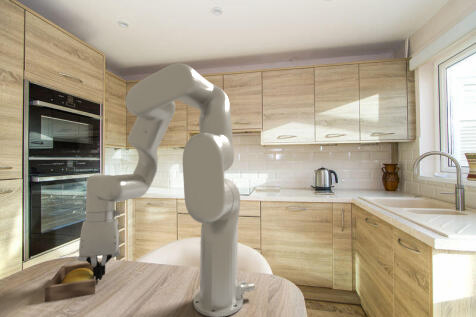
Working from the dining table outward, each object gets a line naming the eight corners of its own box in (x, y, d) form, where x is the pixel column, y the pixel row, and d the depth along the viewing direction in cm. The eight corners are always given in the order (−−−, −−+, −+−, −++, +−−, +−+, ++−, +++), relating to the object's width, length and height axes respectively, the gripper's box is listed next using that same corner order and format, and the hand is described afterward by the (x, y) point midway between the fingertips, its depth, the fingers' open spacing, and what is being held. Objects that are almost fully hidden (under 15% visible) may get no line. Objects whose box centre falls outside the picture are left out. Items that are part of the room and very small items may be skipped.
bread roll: (56, 296, 63) (56, 281, 63) (64, 281, 71) (64, 267, 72) (92, 289, 67) (92, 275, 67) (96, 275, 75) (96, 263, 75)
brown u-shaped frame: (102, 271, 77) (102, 260, 77) (94, 293, 64) (95, 280, 64) (61, 277, 73) (62, 266, 73) (44, 302, 60) (45, 288, 60)
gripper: (128, 212, 78) (127, 269, 77) (74, 215, 72) (72, 276, 71) (127, 216, 71) (126, 279, 70) (67, 221, 65) (65, 289, 65)
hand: (99, 277), depth 71 cm, fingers closed
